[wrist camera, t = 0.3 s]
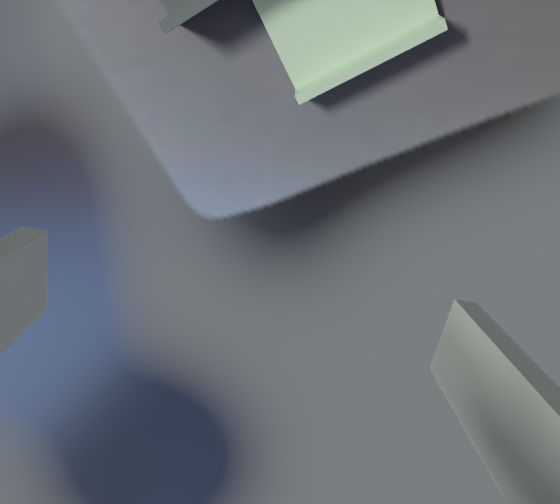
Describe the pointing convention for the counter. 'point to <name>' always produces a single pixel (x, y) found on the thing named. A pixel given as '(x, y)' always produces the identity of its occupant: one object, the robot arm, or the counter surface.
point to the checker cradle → (181, 11)
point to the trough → (343, 36)
